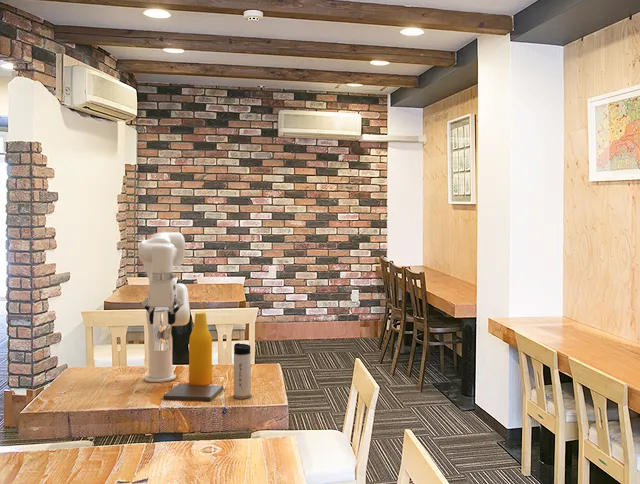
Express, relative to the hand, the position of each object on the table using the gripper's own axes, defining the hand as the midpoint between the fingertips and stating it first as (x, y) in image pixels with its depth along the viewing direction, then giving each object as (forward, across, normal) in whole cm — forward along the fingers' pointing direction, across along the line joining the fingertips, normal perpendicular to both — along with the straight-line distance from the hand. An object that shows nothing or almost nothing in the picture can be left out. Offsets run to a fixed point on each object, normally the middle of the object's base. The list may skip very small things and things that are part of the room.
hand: (162, 323), depth 243 cm
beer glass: (+10, 0, 0) cm, 10 cm away
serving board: (+28, -12, -3) cm, 30 cm away
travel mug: (+28, -30, -2) cm, 41 cm away
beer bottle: (+28, -8, -19) cm, 34 cm away
